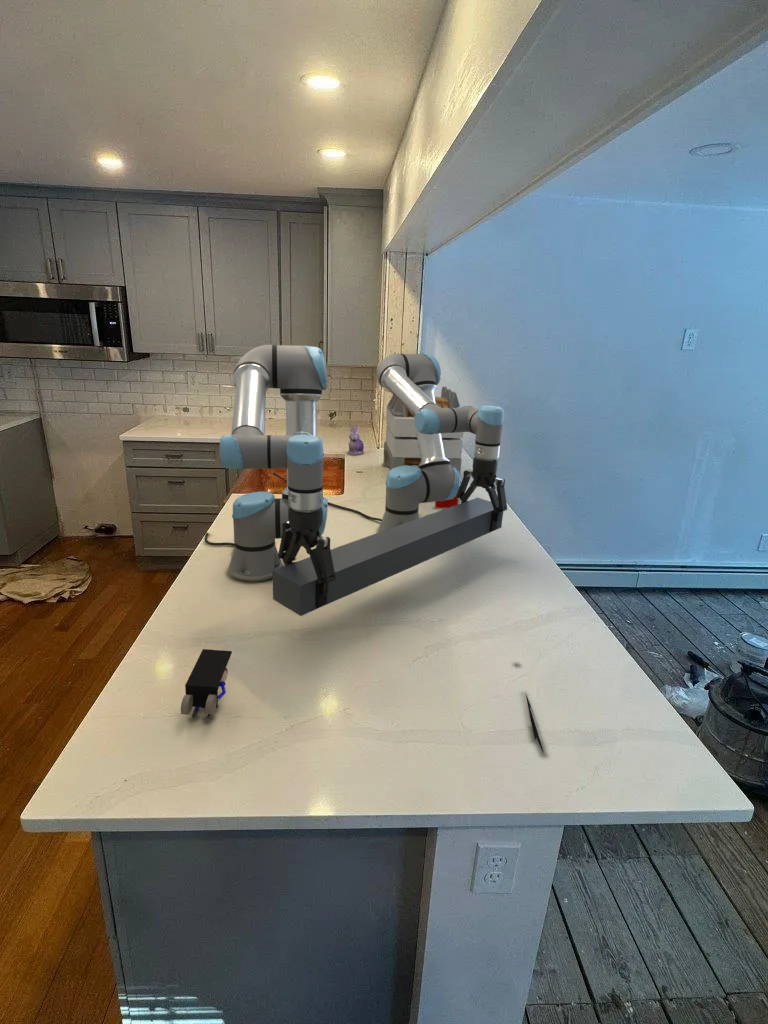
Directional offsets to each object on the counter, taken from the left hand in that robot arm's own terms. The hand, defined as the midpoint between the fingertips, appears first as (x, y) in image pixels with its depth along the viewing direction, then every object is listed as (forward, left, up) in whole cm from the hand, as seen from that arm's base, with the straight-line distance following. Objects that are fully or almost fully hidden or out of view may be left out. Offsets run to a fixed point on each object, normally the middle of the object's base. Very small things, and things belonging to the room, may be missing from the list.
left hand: (305, 596), depth 131 cm
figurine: (-159, +90, -11) cm, 183 cm away
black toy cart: (+13, -26, -11) cm, 31 cm away
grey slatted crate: (-113, +102, -11) cm, 153 cm away
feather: (+42, +32, -11) cm, 54 cm away
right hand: (-22, +67, 0) cm, 70 cm away
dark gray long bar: (-11, +33, -1) cm, 35 cm away
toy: (-77, +91, -11) cm, 120 cm away
